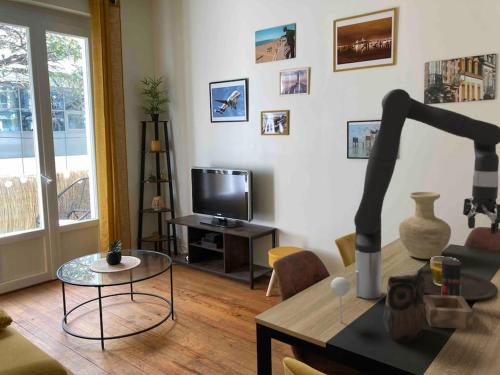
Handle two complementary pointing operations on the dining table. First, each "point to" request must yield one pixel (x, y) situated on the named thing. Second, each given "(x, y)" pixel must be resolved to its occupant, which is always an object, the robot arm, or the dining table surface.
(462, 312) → the socket block
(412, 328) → the owl
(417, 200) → the vase
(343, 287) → the lollipop
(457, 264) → the deodorant
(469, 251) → the dining table surface
